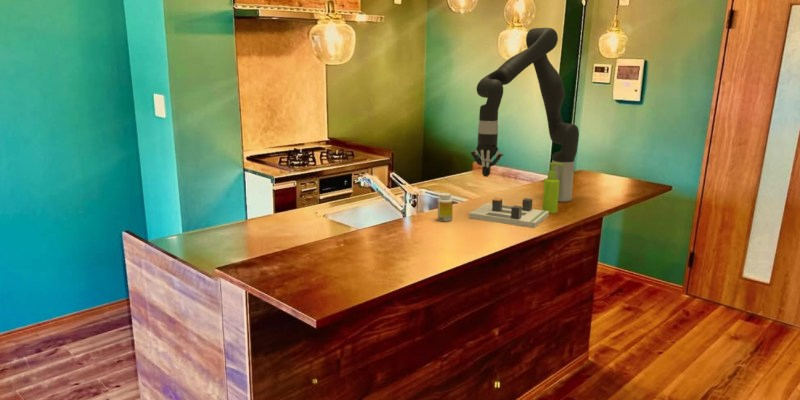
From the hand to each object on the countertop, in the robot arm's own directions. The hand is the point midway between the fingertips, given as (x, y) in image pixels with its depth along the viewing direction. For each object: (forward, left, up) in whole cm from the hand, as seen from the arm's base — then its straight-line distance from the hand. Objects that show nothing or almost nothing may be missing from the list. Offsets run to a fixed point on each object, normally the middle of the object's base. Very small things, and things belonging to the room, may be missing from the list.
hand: (485, 176), depth 220 cm
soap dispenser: (-16, +22, -16) cm, 32 cm away
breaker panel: (0, +10, -15) cm, 18 cm away
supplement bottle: (+16, -10, -16) cm, 24 cm away
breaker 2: (-7, +15, -13) cm, 21 cm away
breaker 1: (+6, +15, -13) cm, 21 cm away
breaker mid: (0, +5, -13) cm, 14 cm away
